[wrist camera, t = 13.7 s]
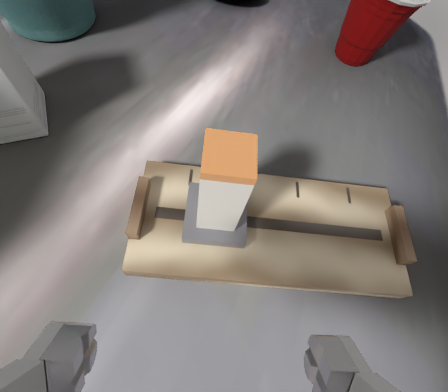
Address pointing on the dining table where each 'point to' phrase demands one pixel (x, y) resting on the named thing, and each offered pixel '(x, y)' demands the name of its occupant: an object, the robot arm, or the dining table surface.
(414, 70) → the dining table surface
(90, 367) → the robot arm
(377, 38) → the plastic cup
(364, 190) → the fader console
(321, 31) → the dining table surface
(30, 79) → the supplement box
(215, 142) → the fader handle
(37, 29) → the flower pot
